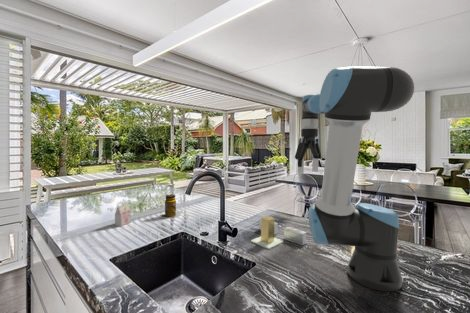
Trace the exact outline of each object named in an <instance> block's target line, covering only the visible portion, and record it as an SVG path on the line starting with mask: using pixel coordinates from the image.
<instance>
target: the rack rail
mask: <svg viewBox="0 0 470 313" xmlns="http://www.w3.org/2000/svg"><path fill="white" fill-rule="evenodd" d="M258 221H259V224H258V228H259V231H261V219H259V220H258ZM283 230H284V236H283V239H284V240H285V241H288V242H291V243H295V244H298V245H300V246H305V245H306V244H307V233H308V232H307V231H304V230H301V229H298V228H295V227H291V226H286V227H284V229H283ZM278 234H279V223H278V222H276V221H274V236H276V235H278Z"/></svg>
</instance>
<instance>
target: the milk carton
mask: <svg viewBox="0 0 470 313" xmlns="http://www.w3.org/2000/svg"><path fill="white" fill-rule="evenodd" d="M131 212H132V210H131V209H130V205H129V203H124V204H121V205H119V206H117V207H116V211H115V213H114V227H115V226H116V227H120V228H121V227H124V226H125V225H128V224H130V223H132V218H131V217H132V213H131Z"/></svg>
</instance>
